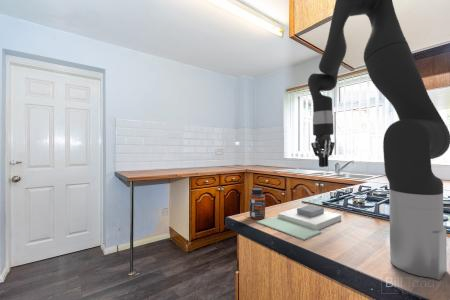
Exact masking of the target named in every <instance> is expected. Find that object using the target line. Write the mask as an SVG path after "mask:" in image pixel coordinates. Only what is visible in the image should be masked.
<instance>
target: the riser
mask: <svg viewBox="0 0 450 300" xmlns="http://www.w3.org/2000/svg"><path fill="white" fill-rule="evenodd" d="M304 206H305V205H302V206H299V207H295V208H292V209H288V210H285V211H280V212H278V213H277V218H280V219H283V220H287V221H290V222H293V223H296V224H299V225H302V226H305V227H309V228H312V229H315V230H318V231H320V230H321V229H323V228H326V227H328V226H331V225H333V224H336V223H338V222H340V221H342V214H340V213H335V212H330V211H327V210H324V213H323V214H320V215H318V216H315V217H312V218H311V217H307V216H303V215H300V214H297V208H301V207H304Z"/></svg>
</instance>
